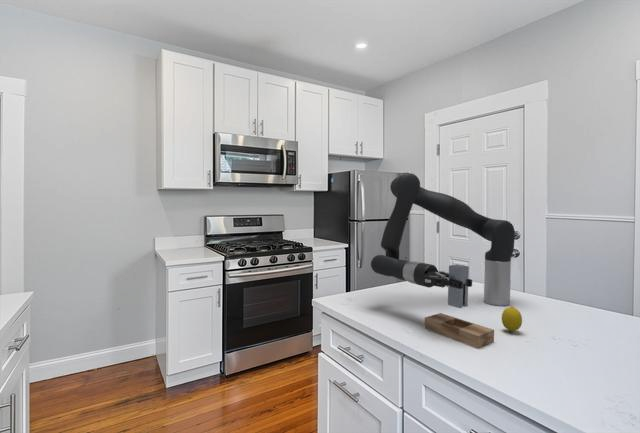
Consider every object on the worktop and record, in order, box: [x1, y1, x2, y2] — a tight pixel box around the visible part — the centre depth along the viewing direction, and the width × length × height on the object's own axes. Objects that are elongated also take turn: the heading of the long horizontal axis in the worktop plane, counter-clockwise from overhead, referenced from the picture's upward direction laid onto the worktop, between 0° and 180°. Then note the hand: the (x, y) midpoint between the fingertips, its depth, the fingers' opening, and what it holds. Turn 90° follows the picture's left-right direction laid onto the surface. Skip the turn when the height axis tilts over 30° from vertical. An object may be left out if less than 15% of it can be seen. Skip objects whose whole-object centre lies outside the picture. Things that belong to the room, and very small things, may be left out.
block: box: [447, 263, 470, 309], centre depth 103 cm, size 4×4×12 cm
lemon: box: [501, 306, 523, 333], centre depth 106 cm, size 6×6×8 cm
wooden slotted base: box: [424, 312, 495, 349], centre depth 103 cm, size 8×18×4 cm, turn 35°
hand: (466, 284), depth 100 cm, fingers closed on block, 4 cm apart
